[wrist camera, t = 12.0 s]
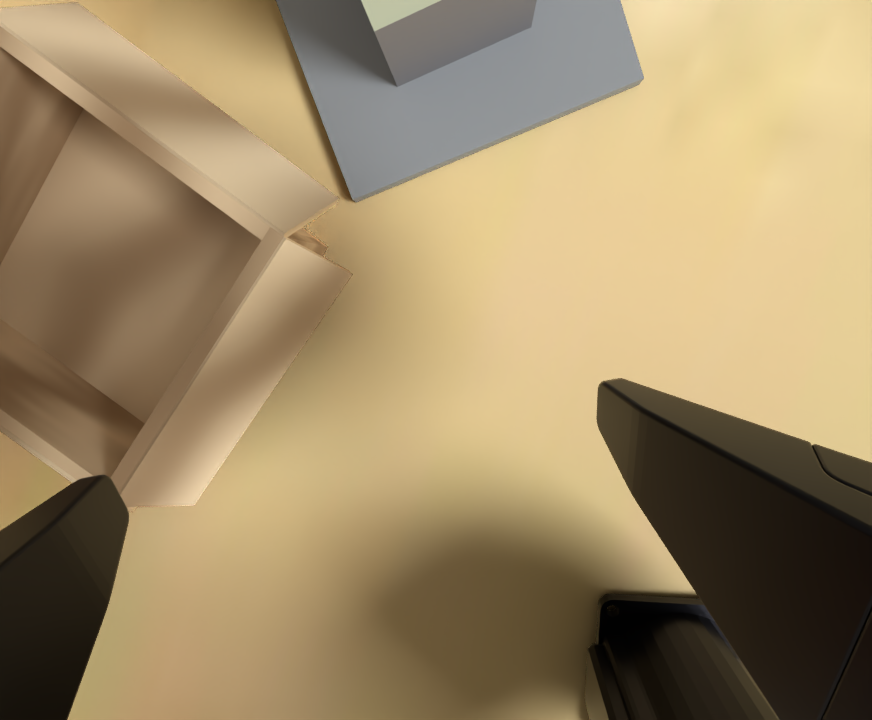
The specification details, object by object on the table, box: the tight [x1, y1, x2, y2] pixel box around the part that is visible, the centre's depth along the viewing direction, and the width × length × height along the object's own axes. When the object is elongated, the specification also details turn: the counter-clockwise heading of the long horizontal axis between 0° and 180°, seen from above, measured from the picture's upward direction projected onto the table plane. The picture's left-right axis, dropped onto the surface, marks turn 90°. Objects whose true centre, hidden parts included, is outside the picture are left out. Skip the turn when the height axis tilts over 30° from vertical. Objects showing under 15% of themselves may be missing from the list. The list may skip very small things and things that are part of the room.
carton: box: [0, 2, 352, 513], centre depth 18 cm, size 15×15×5 cm
